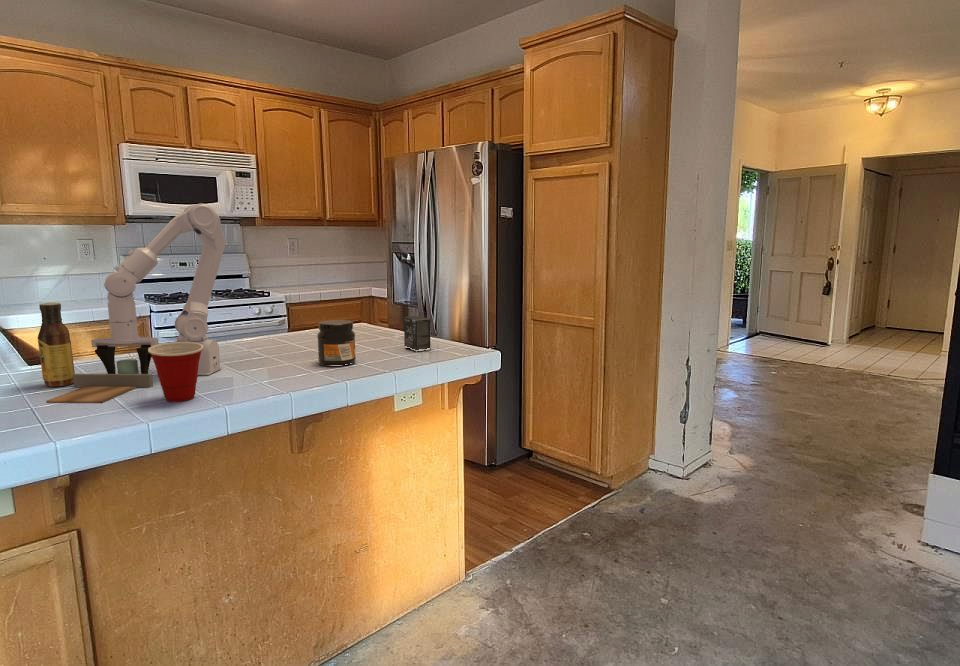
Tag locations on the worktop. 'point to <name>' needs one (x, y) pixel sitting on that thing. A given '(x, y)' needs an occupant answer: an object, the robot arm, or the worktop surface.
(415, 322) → the box
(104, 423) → the worktop surface
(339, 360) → the supplement container
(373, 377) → the worktop surface
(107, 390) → the walnut board
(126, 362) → the sage green cylinder
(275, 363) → the worktop surface
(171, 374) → the plastic cup
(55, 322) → the sauce bottle
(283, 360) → the worktop surface
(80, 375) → the taupe wall
